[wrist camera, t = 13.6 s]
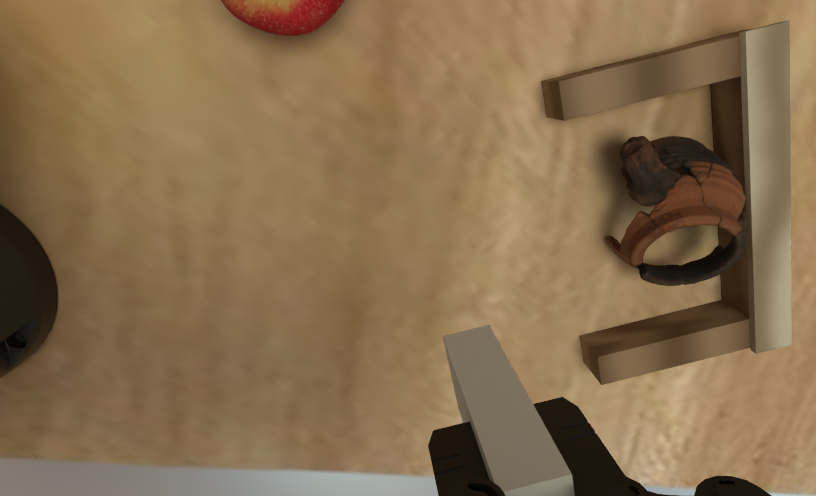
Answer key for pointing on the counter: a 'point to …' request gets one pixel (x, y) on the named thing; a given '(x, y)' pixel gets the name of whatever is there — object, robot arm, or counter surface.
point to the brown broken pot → (680, 205)
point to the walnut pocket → (753, 167)
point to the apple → (283, 14)
